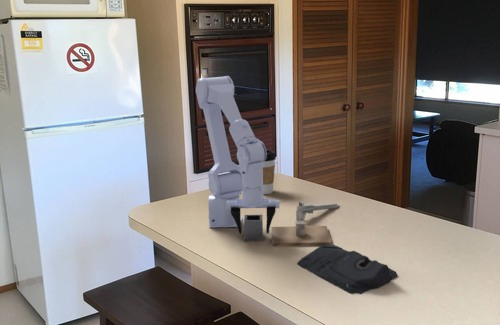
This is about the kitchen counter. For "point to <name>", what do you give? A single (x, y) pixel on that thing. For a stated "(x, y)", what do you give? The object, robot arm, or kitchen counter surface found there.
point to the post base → (300, 235)
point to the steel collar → (253, 227)
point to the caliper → (311, 209)
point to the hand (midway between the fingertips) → (253, 232)
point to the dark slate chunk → (347, 269)
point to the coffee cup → (268, 172)
